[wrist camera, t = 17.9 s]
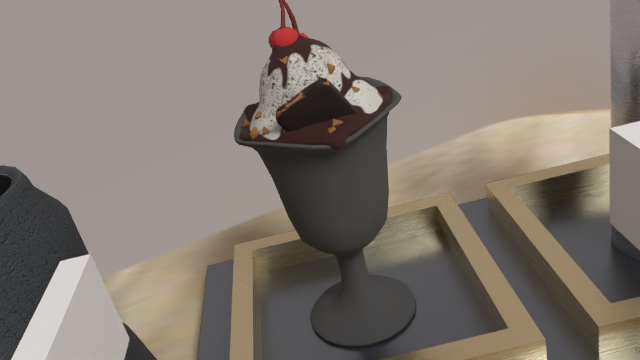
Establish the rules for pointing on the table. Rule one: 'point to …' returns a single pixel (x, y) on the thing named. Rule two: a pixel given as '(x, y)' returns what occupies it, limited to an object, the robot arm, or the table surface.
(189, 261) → the table surface
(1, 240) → the mug
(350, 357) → the olive compartment tray
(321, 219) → the sundae
